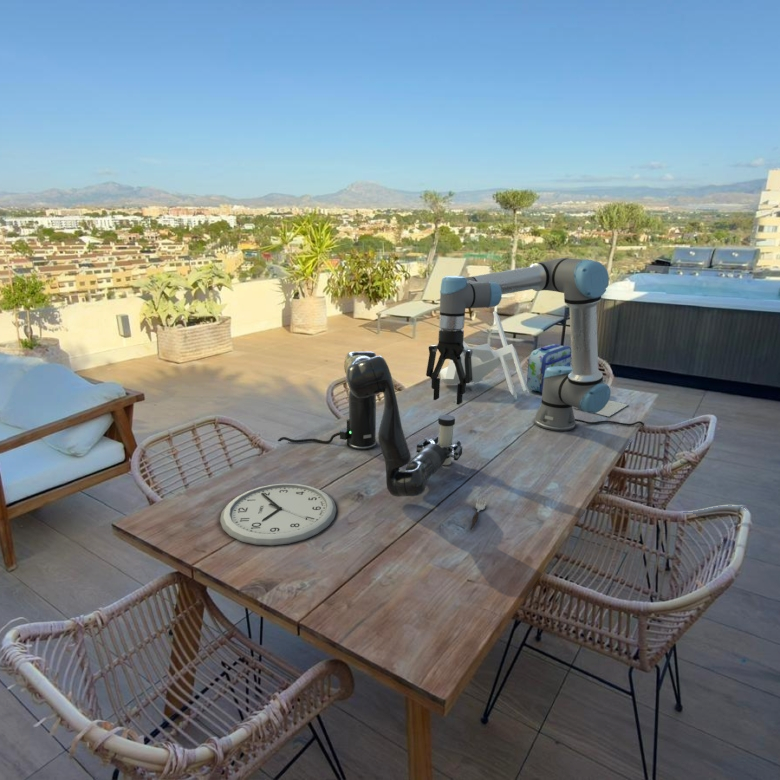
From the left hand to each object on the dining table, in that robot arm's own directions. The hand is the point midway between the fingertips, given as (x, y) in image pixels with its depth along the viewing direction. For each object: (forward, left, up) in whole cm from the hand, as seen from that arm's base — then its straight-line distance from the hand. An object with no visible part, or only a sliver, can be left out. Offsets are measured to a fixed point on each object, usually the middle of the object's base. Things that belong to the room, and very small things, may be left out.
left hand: (447, 441), depth 170 cm
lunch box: (+15, +98, -7) cm, 99 cm away
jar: (0, -2, -7) cm, 7 cm away
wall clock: (-28, -52, -7) cm, 60 cm away
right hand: (0, -2, +14) cm, 15 cm away
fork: (+19, -30, -7) cm, 36 cm away
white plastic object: (-12, +77, -7) cm, 78 cm away
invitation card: (+41, +82, -7) cm, 92 cm away
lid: (0, -2, +9) cm, 9 cm away
